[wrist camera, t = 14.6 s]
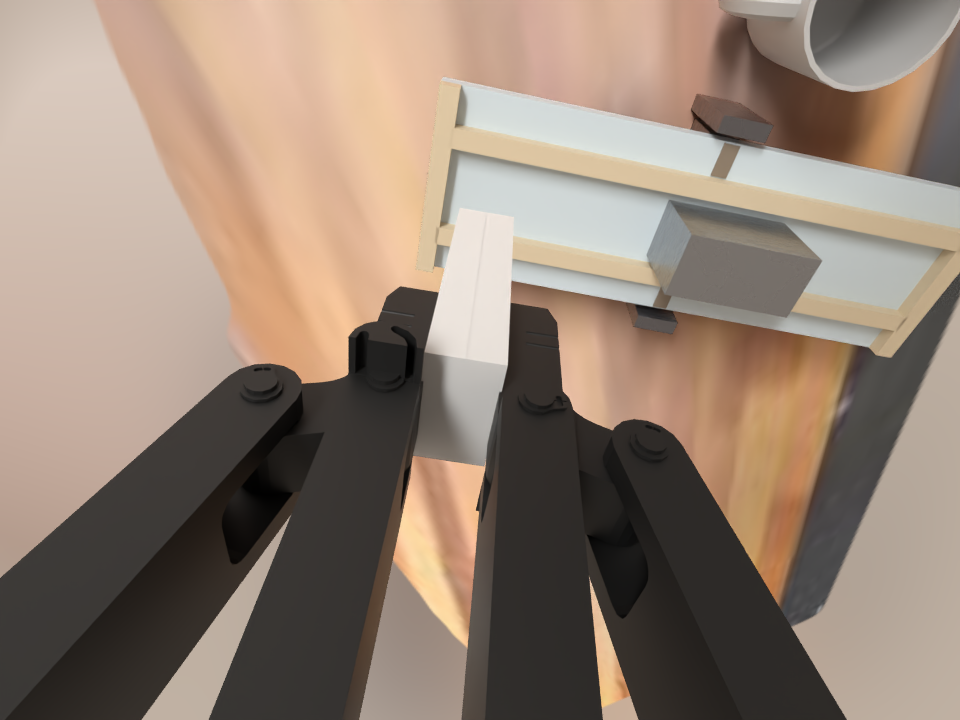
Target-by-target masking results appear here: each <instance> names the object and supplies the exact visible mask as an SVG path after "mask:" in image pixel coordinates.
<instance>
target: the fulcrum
mask: <svg viewBox="0 0 960 720" xmlns="http://www.w3.org/2000/svg"><path fill="white" fill-rule="evenodd" d="M691 110H692V111H693V112H694V113H695V114H697V115H698V116H699V117H700V118H701V119H702V120H699V119H695V120H694V122H693V125H692V127H691V130H694V131H699V132H704V133H708V134H713V135H718V136H722V137H727V138H732V139H736V140H740V139H739V138H744V139H748V140H753V141H758V142H762V143H765V142H766V140H767V138H768V136H769V134H770V132H771V130H772V128H773V125H772V124H770V123H769V122H767V121H766V120H764V119H763V118H761V117H760V116H758V115H757V114H755V113H754V112H752V111H751V110H749V109H748V108H746V107H745V106H743V105H742V104H740V103H737V102H733V101H728V100H724V99H719V98H715V97H710V96H706V95H701V94H697V95H696V98H695V100H694V103H693V105H692V108H691ZM738 137H739V138H738ZM626 304H627V307H628V311H629V314H630V317H631V320H632V323H633V327H637V328H642V329H648V330H653V331H658V332H663V333H669V334H673V332H674V330H675V328H676V325H677V321H676V318H675V316H674V314H673V311H672V310H666V309H661V308H655V307H650V306H645V305H639V304H634V303H629V302H626Z"/></svg>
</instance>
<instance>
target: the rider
mask: <svg viewBox="0 0 960 720" xmlns="http://www.w3.org/2000/svg"><path fill="white" fill-rule="evenodd" d="M646 255H647V257H648V259H649V262H650V264H651V266H652V268H653V270H654V272H655V275H656V277H657V279H658V281H659V283H660V286H661V288H662V290H663V292H664V294H665V295H670V296H675V297H680V298H685V299H691V300H696V301H701V302H706V303H712V304H717V305H722V306H727V307H733V308H738V309H743V310H749V311H754V312H759V313H764V314H770V315H775V316H780V317H785V318H787V317H788V315H789V314H790V312H791V310H792V309H793V307H794V306H795V304H796V302H797V301H798V299H799V298H800V296H801V294H802V293H803V291H804V290H805V288H806V286H807V285H808V283H809V282H810V280H811V279H812V277H813V275H814V274H815V272H816V271H817V269H818V267H819V266H820V264H821V263H822V260H821V259H820V258H819V257H818V256H817V255H816V254H815V253H814V252H813V251H812V250H811V249H810V248H809V247H808V246H807V245H806V244H805V243H804V242H803V241H802V240H801V239H800V238H799V237H798V236H797V235H796V234H795V233H794V232H793V231H792V230H791V229H790V228H789V227H788V226H787V225H786V224H785V223H781V222H776V221H771V220H766V219H761V218H757V217H752V216H747V215H742V214H737V213H732V212H727V211H722V210H717V209H712V208H708V207H703V206H698V205H693V204H688V203H683V202H678V201H673V200H669V201H668V203H667V205H666V208H665V210H664V213H663V215H662V218H661V220H660V223H659V225H658V228H657V230H656V232H655V235H654V237H653V240H652V242H651V245H650V247H649V250H648V252H647V254H646Z"/></svg>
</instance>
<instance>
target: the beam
mask: <svg viewBox="0 0 960 720" xmlns="http://www.w3.org/2000/svg"><path fill="white" fill-rule="evenodd" d="M669 200H673V201H678V202H683V203H688V204H693V205H698V206H703V207H708V208H712V209H717V210H722V211H727V212H732V213H737V214H742V215H747V216H752V217H757V218H761V219H766V220H771V221H776V222H781V223H785V224H786V225H787V226H788V227H789V228H790V229H791V230H792V231H793V232H794V233H795V234H796V235H797V236H798V237H799V238H800V239H801V240H802V241H803V242H804V243H805V244H806V245H807V246H808V247H809V248H810V249H811V250H812V251H813V252H814V253H815V254H816V255H817V256H818V257H819V258H820V259H821V260H822V263H821V264H820V266H819V267H818V269H817V271H816V272H815V274H814V275H813V277H812V279H811V280H810V282H809V283H808V285H807V286H806V288H805V290H804V291H803V293H802V294H801V296H800V298H799V299H798V301H797V302H796V304H795V306H794V307H793V309H792V310H791V312H790V314H789V315H788V317H787V318H785V317H780V316H775V315H770V314H764V313H759V312H754V311H749V310H743V309H738V308H733V307H727V306H722V305H717V304H712V303H706V302H701V301H696V300H691V299H685V298H680V297H675V296H670V295H665V294H664V292H663V290H662V288H661V286H660V283H659V281H658V279H657V277H656V275H655V272H654V270H653V268H652V266H651V264H650V262H649V259H648V257H647V255H646V254H647V252H648V250H649V247H650V245H651V242H652V240H653V237H654V235H655V232H656V230H657V228H658V225H659V223H660V220H661V218H662V215H663V213H664V210H665V208H666V205H667V203H668V201H669ZM460 208H464V209H470V210H476V211H482V212H488V213H494V214H499V215H505V216H511V217H514V228H513V252H512V276H511V281H516V282H521V283H527V284H532V285H538V286H543V287H548V288H554V289H559V290H564V291H570V292H575V293H580V294H586V295H591V296H596V297H602V298H607V299H613V300H618V301H623V302H629V303H634V304H639V305H645V306H650V307H655V308H661V309H666V310H672V311H677V312H682V313H688V314H693V315H698V316H704V317H709V318H714V319H720V320H725V321H730V322H736V323H741V324H747V325H752V326H757V327H763V328H768V329H773V330H779V331H784V332H789V333H795V334H800V335H806V336H811V337H816V338H822V339H827V340H832V341H838V342H843V343H848V344H854V345H859V346H864V347H869V348H870V349H871V350H872V351H873V352H874V353H875V355H878V356H884V357H889V358H891V357H892V356H893V354H894V353H895V352H896V351H897V349H898V348H899V347H900V346H901V344H902V343H903V342H904V341H905V339H906V338H907V337H908V336H909V335H910V333H911V332H912V331H913V330H914V328H915V327H916V326H917V325H918V323H919V322H920V321H921V320H922V318H923V317H924V316H925V315H926V313H927V312H928V311H929V310H930V308H931V307H932V306H933V305H934V303H935V302H936V301H937V300H938V298H939V297H940V296H941V295H942V294H943V292H944V291H945V290H946V289H947V287H948V286H949V285H950V284H951V282H952V281H953V280H954V279H955V277H956V276H957V275H958V274H959V272H960V187H956V186H951V185H946V184H942V183H937V182H932V181H928V180H923V179H918V178H914V177H909V176H904V175H900V174H895V173H890V172H886V171H881V170H876V169H872V168H867V167H862V166H858V165H853V164H848V163H844V162H839V161H834V160H830V159H825V158H820V157H816V156H811V155H806V154H802V153H797V152H792V151H788V150H783V149H778V148H774V147H769V146H764V145H760V144H755V143H750V142H746V141H741V140H736V139H732V138H727V137H722V136H718V135H713V134H708V133H704V132H699V131H694V130H690V129H685V128H680V127H676V126H671V125H666V124H662V123H657V122H652V121H648V120H643V119H638V118H634V117H629V116H624V115H620V114H615V113H610V112H606V111H601V110H596V109H592V108H587V107H582V106H578V105H573V104H568V103H564V102H559V101H554V100H550V99H545V98H540V97H536V96H531V95H526V94H522V93H517V92H512V91H508V90H503V89H498V88H494V87H489V86H484V85H480V84H475V83H470V82H466V81H461V80H456V79H452V78H447V77H443V78H442V80H441V82H440V84H439V92H438V100H437V108H436V115H435V123H434V131H433V139H432V147H431V154H430V162H429V170H428V178H427V186H426V193H425V201H424V209H423V217H422V224H421V232H420V240H419V248H418V256H417V263H416V270H420V271H426V272H431V273H433V269H434V266H436V267H441V268H445V266H446V262H447V258H448V254H449V250H450V246H451V241H452V237H453V233H454V229H455V225H456V221H457V217H458V213H459V209H460Z"/></svg>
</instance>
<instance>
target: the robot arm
mask: <svg viewBox="0 0 960 720" xmlns="http://www.w3.org/2000/svg"><path fill="white" fill-rule="evenodd" d="M513 228H514V217H511V216H505V215H499V214H494V213H488V212H482V211H476V210H470V209H464V208H460V209H459V213H458V217H457V221H456V225H455V229H454V233H453V237H452V241H451V246H450V250H449V254H448V258H447V262H446V266H445V270H444V274H443V278H442V282H441V286H440V290H439V293H437V292H431V291H425V290H419V289H413V288H407V287H401V286H400V287H399V288H397V289H396V290H395V291H394V292H392V293H391V294H390V295H388V296H387V298H386V300H385V303H384V306H383V308H382V312H381V313H380V316H379V319H378V321H376V322H371V323H366V324H364V325H362V326H360V327H358V328H356V329H355V330H354V331H353V332H352V333H351V334H350V336H349V373H348V375H347V376H345V377H343V378H340V379H337V380H334V381H328V382H320V383H306V384H301V379H300V378H299V377H298V375H297V374H296V373H295V372H294V371H292V370H290V369H288V368H287V367H285V366H280V365H275V364H255V365H251V366H248V367H245V368H242V369H239V370H238V371H236V372H234V373H233V374H231V375H230V376H228V377H227V378H226V379H225V380H224V381H222V382H221V383H220V384H219V385H218V386H217V387H216V388H215V389H213V390H212V391H211V392H210V393H209V394H208V395H207V396H205V397H204V398H203V399H202V400H201V401H200V402H199V403H198V404H197V405H195V406H194V407H193V408H192V409H191V410H190V411H189V412H187V414H185V415H184V416H183V417H182V418H181V419H179V420H178V421H177V422H176V423H175V424H174V425H173V426H172V427H170V428H169V429H168V430H167V431H166V432H165V433H164V434H163V435H161V436H160V437H159V438H158V439H157V440H156V441H155V442H153V443H152V444H151V445H150V446H149V447H148V448H147V449H146V450H144V451H143V452H142V453H141V454H140V455H139V456H138V457H137V458H136V459H134V460H133V461H132V462H131V463H130V464H129V465H127V466H126V467H125V468H124V469H123V470H122V471H121V472H120V473H119V474H117V475H116V476H115V477H114V478H113V479H112V480H110V481H109V482H108V483H107V484H106V485H105V486H104V487H103V488H101V489H100V490H99V491H98V492H97V493H96V494H95V495H94V496H92V497H91V498H90V499H89V500H88V501H87V502H86V503H85V504H83V505H82V506H81V507H80V508H79V509H78V510H77V511H75V512H74V513H73V514H72V515H71V516H70V517H69V518H68V519H66V520H65V521H64V522H63V523H62V524H61V525H60V526H59V527H57V528H56V529H55V530H54V531H53V532H52V533H51V534H50V535H48V536H47V537H46V538H45V539H44V540H43V541H42V542H40V543H39V544H38V545H37V546H36V547H35V548H34V549H33V550H31V551H30V552H29V553H28V554H27V555H26V556H25V557H23V558H22V559H21V560H20V561H19V562H18V563H17V564H16V565H14V566H13V567H12V568H11V569H10V570H9V571H8V572H7V573H5V574H4V575H3V576H2V577H1V578H0V720H142V718H143V717H144V715H145V714H146V713H147V711H148V710H149V709H150V707H151V706H152V704H153V703H154V702H155V700H156V699H157V697H158V696H159V695H160V693H161V692H162V691H163V689H164V688H165V686H166V685H167V684H168V683H169V681H170V680H171V678H172V677H173V676H174V674H175V673H176V672H177V670H178V669H179V667H180V666H181V665H182V663H183V662H184V661H185V659H186V658H187V656H188V655H189V653H190V652H191V651H192V650H193V648H194V647H195V645H196V644H197V643H198V641H199V640H200V639H201V637H202V636H203V634H204V633H205V632H206V630H207V629H208V628H209V626H210V625H211V623H212V622H213V621H214V619H215V618H216V616H217V615H218V614H219V612H220V611H221V610H222V608H223V607H224V606H225V604H226V603H227V602H228V600H229V599H230V597H231V596H232V594H233V593H234V592H235V591H236V589H237V588H238V586H239V585H240V583H241V582H242V581H243V580H244V578H245V577H246V575H247V574H248V573H249V571H250V570H251V569H252V567H253V566H254V565H255V563H256V562H257V560H258V559H259V557H260V556H261V555H262V554H263V552H264V550H265V549H266V548H267V547H268V545H269V544H270V543H271V541H272V540H273V538H274V537H275V536H276V534H277V533H278V532H279V530H280V529H281V527H282V526H283V525H284V523H285V522H286V521H287V519H288V518H289V516H290V515H291V517H290V519H289V522H288V524H287V527H286V529H285V532H284V534H283V537H282V540H281V542H280V544H279V547H278V549H277V552H276V554H275V557H274V559H273V562H272V564H271V567H270V569H269V572H268V574H267V577H266V579H265V581H264V584H263V587H262V589H261V592H260V594H259V596H258V599H257V601H256V604H255V606H254V609H253V611H252V614H251V616H250V619H249V621H248V624H247V626H246V629H245V631H244V634H243V636H242V639H241V641H240V643H239V646H238V649H237V651H236V653H235V656H234V658H233V661H232V663H231V666H230V668H229V671H228V673H227V676H226V678H225V681H224V683H223V686H222V688H221V690H220V693H219V696H218V698H217V700H216V703H215V706H214V708H213V710H212V713H211V715H210V718H209V720H359V717H360V712H361V708H362V703H363V698H364V693H365V689H366V683H367V679H368V674H369V669H370V665H371V660H372V655H373V650H374V646H375V641H376V636H377V632H378V627H379V622H380V617H381V612H382V607H383V602H384V599H385V594H386V588H387V584H388V580H389V575H390V570H391V565H392V561H393V556H394V551H395V546H396V542H397V537H398V532H399V527H400V523H401V518H402V513H403V508H404V504H405V499H406V494H407V489H408V485H409V480H410V474H411V465H412V458H413V456H419V457H426V458H433V459H439V460H446V461H452V462H459V463H466V464H472V465H479V466H484V465H485V461H486V468H485V473H484V478H483V482H482V486H481V490H480V495H479V499H478V503H477V507H476V511H479V520H478V532H477V544H476V555H475V567H474V579H473V591H472V603H471V615H470V626H469V638H468V650H467V662H466V663H467V664H466V674H465V686H464V698H463V709H462V720H603V717H602V707H601V696H600V686H599V675H598V665H597V655H596V644H595V634H594V624H593V613H592V603H591V593H590V582H589V577H590V580H591V583H592V586H593V588H594V591H595V594H596V597H597V600H598V603H599V606H600V609H601V612H602V615H603V618H604V620H605V623H606V626H607V629H608V632H609V635H610V638H611V641H612V644H613V647H614V650H615V652H616V655H617V658H618V661H619V664H620V667H621V670H622V673H623V676H624V679H625V682H626V684H627V687H628V690H629V693H630V696H631V699H632V702H633V705H634V708H635V711H636V713H637V716H638V719H639V720H847V719H846V718H845V716H844V714H843V713H842V711H841V709H840V708H839V706H838V705H837V703H836V701H835V699H834V698H833V696H832V694H831V693H830V691H829V689H828V688H827V686H826V684H825V683H824V681H823V679H822V678H821V676H820V674H819V673H818V671H817V669H816V668H815V666H814V664H813V663H812V661H811V659H810V658H809V656H808V654H807V653H806V651H805V649H804V648H803V646H802V644H801V643H800V641H799V639H798V638H797V636H796V634H795V633H794V631H793V629H792V628H791V626H790V624H789V623H788V621H787V619H786V618H785V616H784V614H783V613H782V611H781V609H780V608H779V606H778V604H777V603H776V601H775V599H774V598H773V596H772V594H771V593H770V591H769V589H768V588H767V586H766V584H765V583H764V581H763V579H762V578H761V576H760V574H759V573H758V571H757V569H756V568H755V566H754V564H753V563H752V561H751V559H750V558H749V556H748V554H747V553H746V551H745V549H744V548H743V546H742V544H741V543H740V541H739V539H738V538H737V536H736V534H735V533H734V531H733V529H732V528H731V526H730V524H729V523H728V521H727V519H726V518H725V516H724V514H723V513H722V511H721V509H720V508H719V506H718V504H717V503H716V501H715V499H714V498H713V496H712V494H711V493H710V491H709V489H708V488H707V486H706V484H705V483H704V481H703V479H702V478H701V476H700V474H699V473H698V471H697V469H696V468H695V466H694V464H693V463H692V461H691V459H690V458H689V456H688V454H687V453H686V451H685V449H684V448H683V446H682V444H681V443H680V442H679V441H678V440H677V439H676V437H675V436H674V435H673V434H672V433H670V432H669V431H667V430H666V429H664V428H663V427H661V426H659V425H656V424H654V423H651V422H649V421H644V420H636V419H633V420H628V421H623V422H621V423H620V424H619V425H617V426H616V427H615V428H614V430H613V431H612V430H610V429H607V428H605V427H602V426H600V425H597V424H595V423H593V422H591V421H589V420H587V419H585V418H583V417H582V416H580V415H579V414H577V413H576V412H575V411H574V410H573V407H572V404H571V402H570V399H569V397H568V396H567V395H566V394H565V393H564V392H563V389H562V377H561V365H560V353H559V341H558V328H557V322H556V320H555V319H554V318H553V316H552V315H551V313H550V312H549V310H548V309H544V308H538V307H532V306H526V305H520V304H514V303H510V300H511V276H512V252H513Z"/></svg>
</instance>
